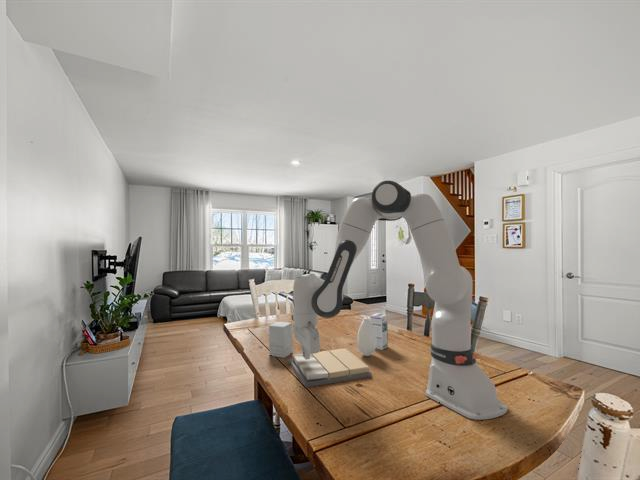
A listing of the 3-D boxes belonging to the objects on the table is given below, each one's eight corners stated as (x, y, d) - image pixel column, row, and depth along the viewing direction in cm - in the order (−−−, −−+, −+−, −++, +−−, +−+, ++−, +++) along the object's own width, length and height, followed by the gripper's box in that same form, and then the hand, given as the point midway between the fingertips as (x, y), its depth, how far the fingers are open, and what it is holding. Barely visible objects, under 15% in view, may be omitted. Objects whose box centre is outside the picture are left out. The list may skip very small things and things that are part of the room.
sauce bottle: (354, 357, 122) (354, 312, 122) (361, 351, 129) (360, 309, 129) (373, 360, 118) (372, 314, 119) (378, 354, 125) (378, 310, 126)
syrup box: (382, 350, 130) (382, 316, 130) (370, 347, 133) (370, 314, 133) (388, 346, 134) (387, 314, 134) (376, 344, 138) (375, 312, 138)
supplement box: (293, 352, 128) (292, 322, 128) (283, 358, 121) (283, 327, 121) (278, 350, 131) (278, 320, 131) (268, 355, 124) (268, 325, 124)
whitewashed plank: (328, 377, 100) (328, 373, 100) (307, 380, 97) (307, 375, 97) (309, 356, 119) (310, 352, 119) (292, 358, 116) (292, 354, 116)
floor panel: (371, 376, 104) (371, 367, 104) (305, 387, 96) (305, 378, 96) (345, 354, 125) (345, 347, 125) (288, 362, 117) (288, 354, 117)
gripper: (324, 325, 99) (325, 367, 98) (305, 312, 118) (306, 348, 118) (306, 327, 97) (306, 370, 96) (290, 314, 116) (290, 350, 116)
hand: (306, 358), depth 107 cm, fingers closed
